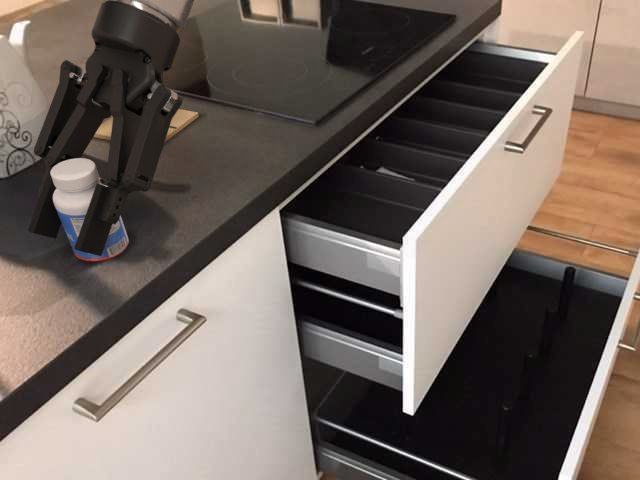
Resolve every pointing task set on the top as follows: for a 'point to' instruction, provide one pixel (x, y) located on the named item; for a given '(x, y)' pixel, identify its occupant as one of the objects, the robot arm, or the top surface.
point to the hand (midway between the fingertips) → (64, 243)
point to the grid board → (176, 125)
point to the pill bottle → (82, 205)
